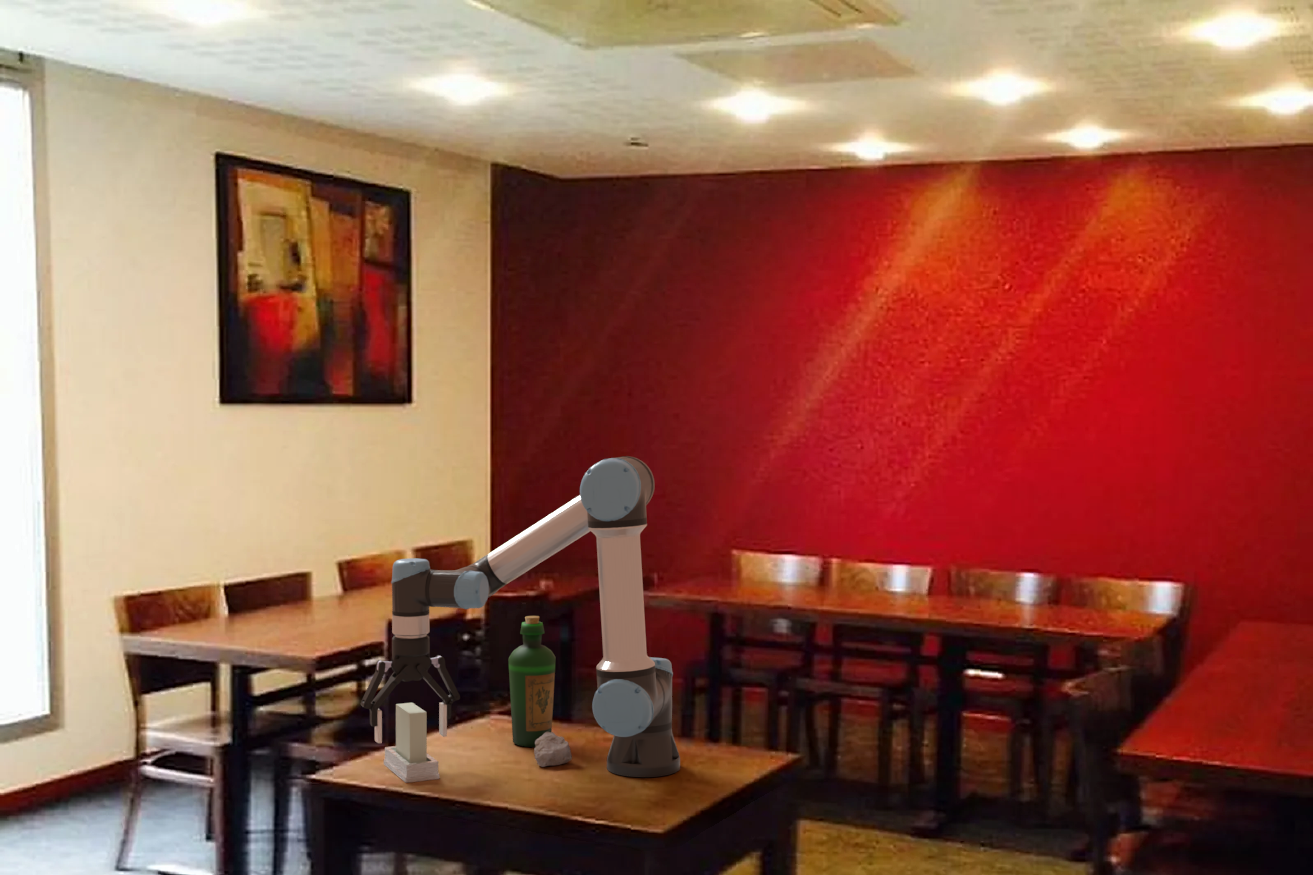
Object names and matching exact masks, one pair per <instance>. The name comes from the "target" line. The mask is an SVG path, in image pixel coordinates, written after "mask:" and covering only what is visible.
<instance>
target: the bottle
mask: <svg viewBox="0 0 1313 875" xmlns="http://www.w3.org/2000/svg"><path fill="white" fill-rule="evenodd" d="M524 619H525V621H522V622H521V626H520V627H521V628H520V631H519V634H520V635H522V643H523V644H522V645H519V646H518V647H516V648H515V649H514V650H513V651H512V652H511V653H510V655H509V657H508V660H507V661H508V673H509V674H508V676H509V679H508V680H509V694H510V697H509V698H510V711H511V712H510V713H511V714H510V715H511V733H512V734H511V735H512V743H513V744H515V745H517V746H520V747H523V746H524V747H525V748H535V747H536V745H535V741H536V740H537V739H538V738H539V737H540V736H542V735H543V734H544V733H545V732H550V733H551V732H553V731H552V729H553V728H552V727H553V710H554V695H555V694H554V693H555V676H556V674H555V673H556V658H557V657H556V656H555V654H554V652H553V650H552V649H550V648H549V647H547V646H546V645H543V644H542V636H543V634H545V628H544V624H543V621H542V622H541V621H540V616H539V615H526V616H525V617H524Z"/></svg>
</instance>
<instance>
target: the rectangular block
mask: <svg viewBox="0 0 1313 875" xmlns="http://www.w3.org/2000/svg"><path fill="white" fill-rule="evenodd" d="M427 716H428V715H427V711H426V710H424V709H422V708H421V707H420V706H418V705H416V703H414V702H404V703H396V704H395V746H396V752H397V753H398V754H399V755H400V756H402V757H403V758H404V759H405V760H407V761H408V762H409V763H418V762H427V754H428V753H427V748H428V745H427V744H428V742H427V738H428V737H427V731H428V730H427V724H428V721H427V719H428V718H427Z"/></svg>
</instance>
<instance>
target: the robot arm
mask: <svg viewBox="0 0 1313 875" xmlns="http://www.w3.org/2000/svg"><path fill="white" fill-rule="evenodd" d="M655 485H656V484H655V478H654V475H653V472H652V469H650V467H649V466H648V465H647V463H646V462H644V461H642V460H640V459H639V458H637V457H634V456H629V455H625V456H617V457H611V458H604V459H602V460H600V461H598V462H596V463H594V464H593V465H592V466H590V467H589V468H588V470H587V471H586V472H584V475H583V477H582V479H581V482H580V486H579V495H576V496H575V497H574V498H572V499H571V500H570V501H568V502H567V503H566V502H565V504H563V505H562V506H560V507H558V508H557V509H556V510H554V511H553V512H551V513H549V514H548V515H547V516H545V517H543V518H541V519H540V520H538V521H537V522H536V523H534V524H532V525H530V526H529V527H528V528H526V529H524V530H523V531H521V532H520V533H518V534H517V535H515V536H514V537H512V538H510V539H508V541H506V542H504V543H503V544H501V545H500V546H498V547H497V548H495V549H494V550H492V551H490V552H489V553H487V554H485V555H484V556H482V557H481V558H479V559H478V560H476V561H475V562H474V563H471V564H469V565H467V566H464V567H461V568H459V569H455V570H452V569H451V570H450V569H448V570H443V569H440V570H438V569H431V566H430V561H429V560H428V559H426V558H415V557H413V558H410V557H409V558H400V559H397V560H395V561H394V562H393V564H392V574H391V575H392V576H391V581H390V584H391V598H392V599H391V600H392V601H391V602H392V604H391V606H392V608H391V609H392V610H391V613H392V616H391V617H392V618H391V619H392V620H391V626H392V627H391V628H392V630H391V632H392V633H391V634H393V637H392V638H391V654H392V656H391V660H390V661H388V660H385V661H384V660H381V659H378V660H376V664H375V665H376V666H375V671H374V674H373V676H372V678H371V680H370V682H369V684H368V686H367V689H366V690H365V693H364V695H363V697H362V698H361V700H360V706H361V707H362V708H364V709H367V710H369V724H370V726H371V727H373V728H374V741H375V742H376V743H377V744H382V742H383V718H382V717H383V711H382V710H381V709H380V707H381V706H382V705H383V704H384V702H385V701H386V700H387V699H388V697H389V696H390V694H391V693H392V692H393V691H394V689H395V688H396V686H397V685H399V684H400V683H401V682H404V683H405V682H406V683H407V682H411V681H415V682H416V681H417V682H418V681H419V682H420V681H421V680H422V679H423V680H424V681H425V682H426V683H427V685H428V686H429V687H430V688H431V689H432V690H433V691H434V692H435V693H436V694H437V696H438V697H439V698H440V699H441V700H442V702H438V703H439V704H438V705H439V706H438V708H439V710H438V712H439V713H438V715H439V716H438V717H439V718H438V720H439V721H438V724H439V726H438V729H439V730H438V731H439V732H438V733H439V735H440V736H441V737H443V738H445V737H448V734H447V733H448V727H447V726H448V720H451V718H452V705H453V703H454V702H456V701H460V699H461V695H460V693H459V692H458V689H457V687H456V685H455V683H454V681H453V679H452V677H451V675H450V672H449V671H448V669H447V668H446V659H445V657H443V656H441V655H439V654H437V655H436V656H435V657H430V636H429V633H430V608H436V607H437V608H450V609H451V608H453V609H464V610H469V609H481V608H483V607H484V606H485V605H486V603H487V601H488V598H490V597H491V596H493V595H495V594H496V593H497V592H498V591H499V590H500V589H502V588H504V587H505V586H506V585H507V584H509V583H510V582H513V581H514V580H516V579H517V578H519V577H521V576H522V575H524V574H526V572H528V571H530V570H531V569H533V568H534V567H536V566H538V565H539V564H540V563H542V562H544V561H546V560H547V559H549V558H550V557H552V556H554V555H555V554H557V553H558V552H560V551H561V550H564V549H565V548H566V547H568V546H569V545H571V544H573V543H574V542H575V541H577V540H579V539H580V538H582V537H583V536H585V535H587V534H588V533H590V532H591V533H592V534H593V535H594V536H595V538H596V552H597V553H596V554H597V568H598V569H597V571H598V573H597V574H598V586H599V603H600V604H599V605H600V606H599V607H600V622H601V637H602V638H601V639H602V640H601V642H602V656H603V657H602V658H601V660H600V661H599V663H598V664H597V665H596V667H595V670H596V683H597V685H596V686H597V690H596V691H595V692H594V696H593V699H592V705H591V708H592V713H593V717H594V719H595V721H596V723H597V724H598V726H600V727H601V729H603V730H604V731H605V732H607V733H608V734H610V735H612V736H613V738H612V740H611V744H610V747H609V750H608V754H607V757H606V770H607V771H608V772H610V773H612V774H614V775H618V776H623V777H629V778H630V777H632V778H656V777H663V776H669V775H673V774H675V773H678V771H680V770H681V756H680V753H679V750H678V746H677V744H676V741H675V738H674V733H673V729H672V728H673V725H672V724H673V720H672V719H673V718H672V717H673V716H672V715H673V697H672V696H673V676H674V672H673V668H672V667H673V666H672V662H671V661H670V660H669V659H668V658H665V657H664V658H662V657H655V656H654V657H651V656H648V653H647V652H648V651H647V650H648V649H647V636H646V619H645V615H646V614H645V603H644V600H645V599H644V584H643V582H644V581H643V569H642V568H643V567H642V566H643V565H642V563H643V562H642V550H641V548H642V546H641V533H642V532H643V531H644V529H645V528H646V527H647V526H648V523H647V522H648V518H647V505H648V504H649V503H650V501H651V499H652V497H653V495H654V493H655V489H656V488H655ZM432 665H433V667H434V668H436V669H437V671H438V673H439V675H440V677H441V679H442V681H443V683H444V685H445V687H446V689H447V690H448V692H449V695H448V693H446V691H445V690H444V689H443V688H442V687H441V686H440V685H439V683H437V681H436V680H435V679H434V678H433V677H432V675H431V674H430V673H429V672H428V671H429V669H430V667H431V666H432ZM389 669H391V670H392V671H393V673H392V674H391V675H390V676H389V678H388V680H387V682H386V683H385V684H384V686H383V687H381V689H380V691H379V692H378V693H377V691H378V689H379V687H380V684H381V683H382V680H383V678H384V675H385V673H387V672H388V670H389ZM376 693H377V695H376Z"/></svg>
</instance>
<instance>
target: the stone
mask: <svg viewBox="0 0 1313 875" xmlns="http://www.w3.org/2000/svg"><path fill="white" fill-rule="evenodd" d="M535 745H536V747H533V748H534V749H533V753H534V759H535V761H536V764H537V765H538V766H540V767H541V768H544V767H549V766H551V767H552V766H559V765H562V764H567V763H568V762H570V761H571V760H573V759H572V758H573V756H572V752H571V748H570V743H569V741H567V740H565V737H564V736H559V735H556V733H555V732H553V731H551V733H550V732H545V733H544V734H543V735H542V736H540V737H539V738H538V739H537V740H536V741H535Z"/></svg>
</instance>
